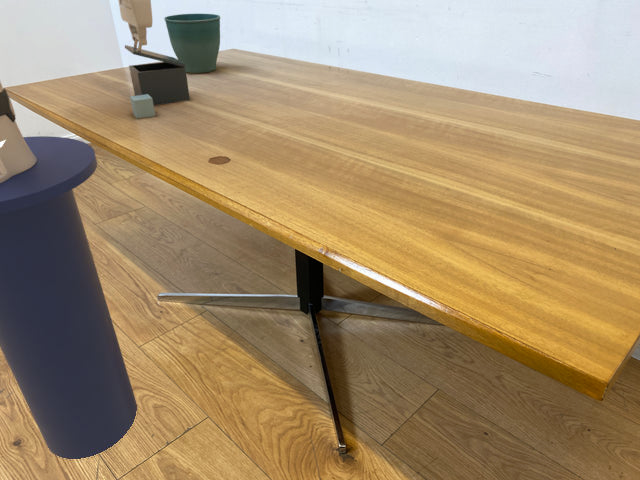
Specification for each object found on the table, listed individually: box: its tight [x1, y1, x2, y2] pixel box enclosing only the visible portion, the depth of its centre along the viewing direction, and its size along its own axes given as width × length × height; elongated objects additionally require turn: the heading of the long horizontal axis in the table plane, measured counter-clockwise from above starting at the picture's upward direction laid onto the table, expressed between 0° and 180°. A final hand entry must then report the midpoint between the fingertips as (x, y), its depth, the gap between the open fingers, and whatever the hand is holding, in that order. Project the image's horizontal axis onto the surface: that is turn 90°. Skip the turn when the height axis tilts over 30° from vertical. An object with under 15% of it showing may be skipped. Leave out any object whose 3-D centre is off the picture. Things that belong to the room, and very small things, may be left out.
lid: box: [124, 31, 185, 67], centre depth 130 cm, size 13×11×5 cm
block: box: [129, 94, 156, 119], centre depth 122 cm, size 4×4×4 cm
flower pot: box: [163, 13, 221, 74], centre depth 164 cm, size 18×18×17 cm
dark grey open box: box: [128, 61, 191, 106], centre depth 134 cm, size 13×11×9 cm
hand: (139, 43), depth 127 cm, fingers closed on lid, 6 cm apart
